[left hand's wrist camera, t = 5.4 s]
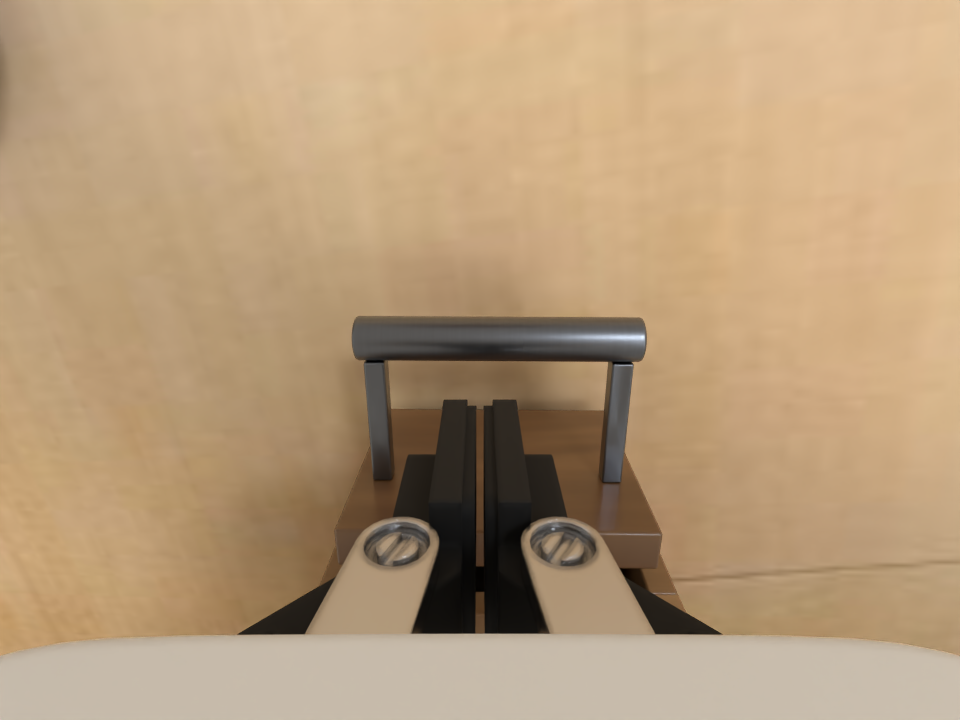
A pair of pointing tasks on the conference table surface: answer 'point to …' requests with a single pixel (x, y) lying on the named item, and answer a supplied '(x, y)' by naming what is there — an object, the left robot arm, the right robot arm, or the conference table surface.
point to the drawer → (562, 433)
